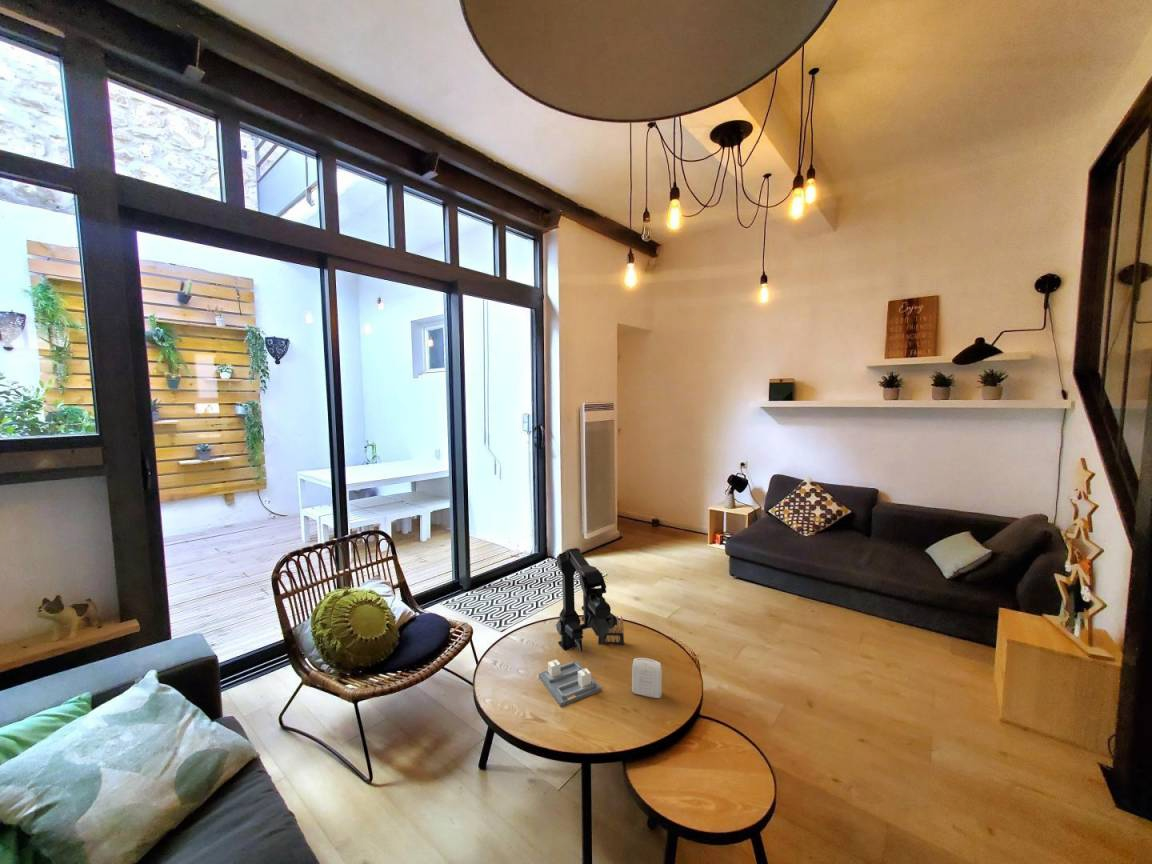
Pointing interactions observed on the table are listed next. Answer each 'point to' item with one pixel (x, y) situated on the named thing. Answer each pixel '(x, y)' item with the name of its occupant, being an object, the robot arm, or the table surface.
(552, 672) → the white rectangular block
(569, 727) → the table surface
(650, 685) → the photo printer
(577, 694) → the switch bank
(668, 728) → the table surface
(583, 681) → the white block
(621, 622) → the ammunition clip
